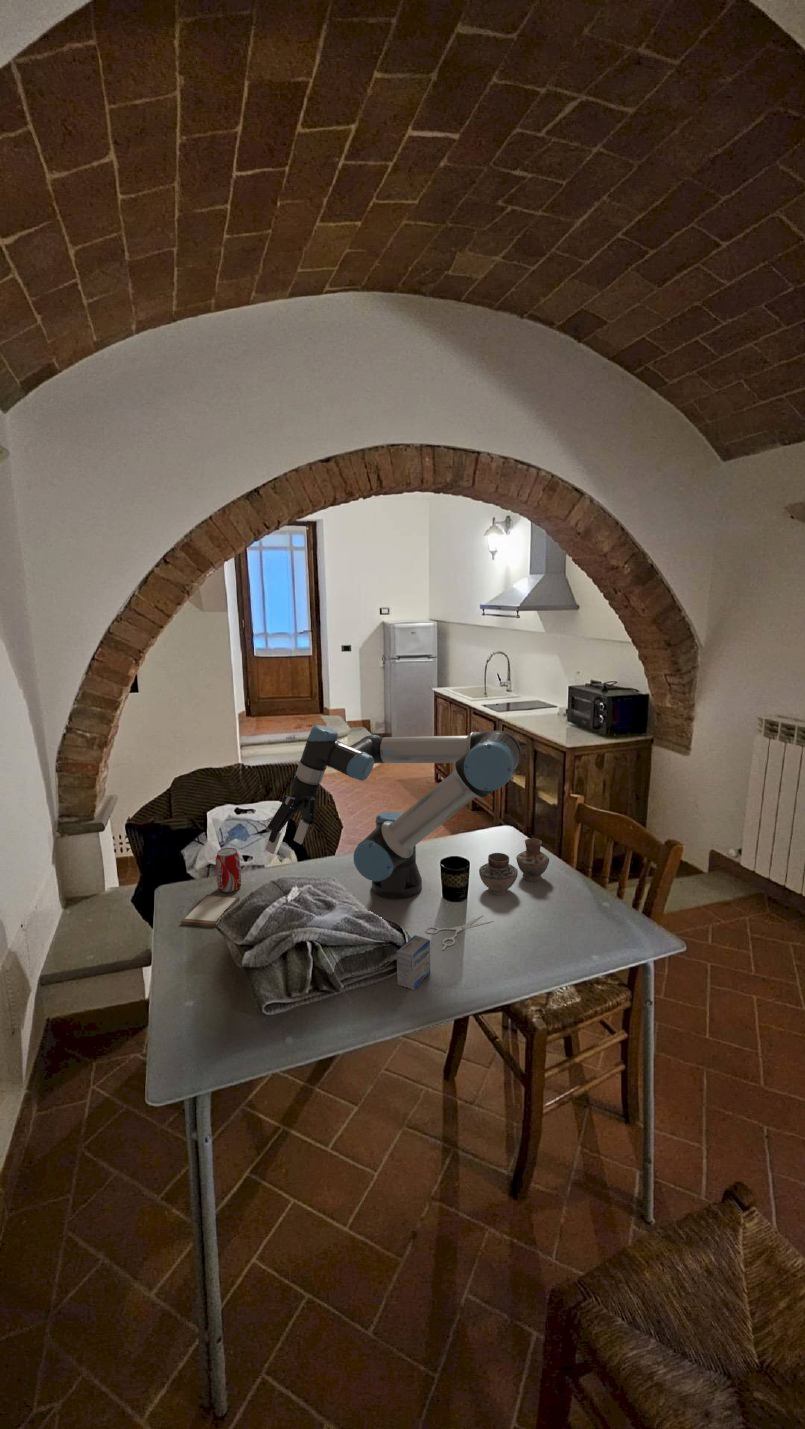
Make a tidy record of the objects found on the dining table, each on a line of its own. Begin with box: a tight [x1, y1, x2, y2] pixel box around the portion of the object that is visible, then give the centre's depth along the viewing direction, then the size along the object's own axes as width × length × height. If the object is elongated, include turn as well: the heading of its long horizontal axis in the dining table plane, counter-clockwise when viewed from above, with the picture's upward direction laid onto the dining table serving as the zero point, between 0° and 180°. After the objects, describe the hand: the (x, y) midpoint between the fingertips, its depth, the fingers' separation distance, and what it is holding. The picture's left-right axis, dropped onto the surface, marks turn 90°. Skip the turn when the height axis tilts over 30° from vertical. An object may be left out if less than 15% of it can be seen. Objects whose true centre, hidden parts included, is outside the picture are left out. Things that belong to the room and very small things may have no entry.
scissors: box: [424, 915, 494, 952], centre depth 164 cm, size 11×1×20 cm
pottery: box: [478, 838, 550, 896], centre depth 188 cm, size 11×25×12 cm, turn 126°
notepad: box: [180, 894, 240, 928], centre depth 175 cm, size 10×15×1 cm, turn 170°
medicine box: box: [396, 934, 431, 990], centre depth 143 cm, size 8×4×9 cm, turn 148°
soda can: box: [215, 847, 242, 893], centre depth 188 cm, size 7×7×12 cm
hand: (284, 846), depth 178 cm, fingers open, 13 cm apart
